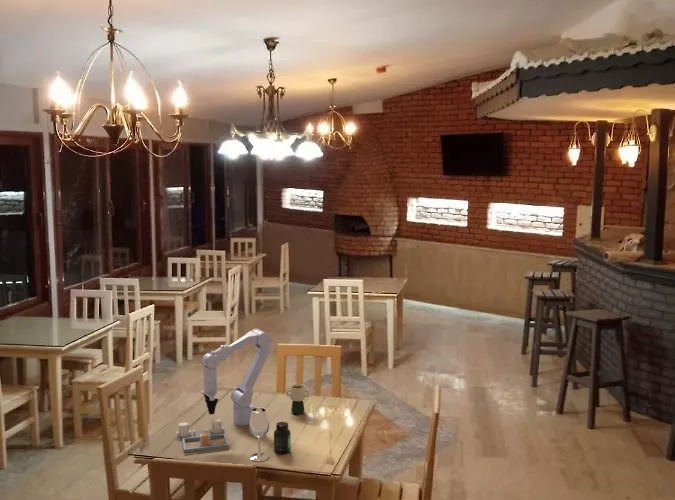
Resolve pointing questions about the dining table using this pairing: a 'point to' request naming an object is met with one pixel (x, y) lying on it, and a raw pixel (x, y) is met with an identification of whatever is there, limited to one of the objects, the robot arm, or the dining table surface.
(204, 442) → the fuse marked
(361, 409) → the dining table surface
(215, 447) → the tray
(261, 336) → the robot arm
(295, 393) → the character mug
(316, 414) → the dining table surface
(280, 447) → the supplement bottle
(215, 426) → the fuse
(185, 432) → the block
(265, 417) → the wineglass
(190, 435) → the block
